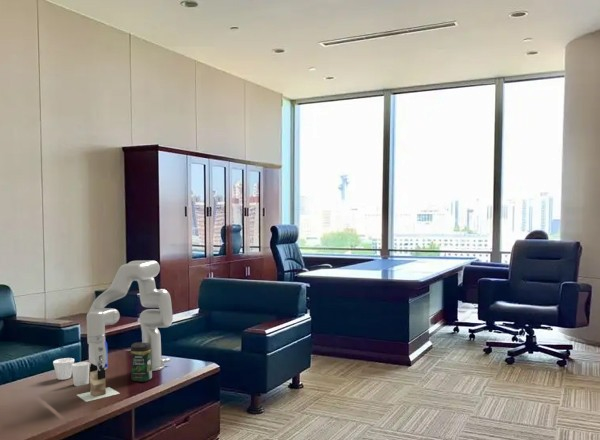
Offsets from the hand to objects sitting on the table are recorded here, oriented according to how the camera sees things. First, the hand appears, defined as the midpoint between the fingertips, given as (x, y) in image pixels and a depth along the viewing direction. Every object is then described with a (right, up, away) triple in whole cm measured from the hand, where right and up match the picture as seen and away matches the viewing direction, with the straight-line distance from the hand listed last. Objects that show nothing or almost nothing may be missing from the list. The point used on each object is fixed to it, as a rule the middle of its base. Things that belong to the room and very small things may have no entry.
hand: (97, 376), depth 235 cm
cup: (-29, -11, +31) cm, 44 cm away
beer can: (-17, -10, +46) cm, 50 cm away
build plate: (0, -9, 0) cm, 9 cm away
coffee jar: (+13, -9, +24) cm, 28 cm away
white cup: (-16, -10, +20) cm, 28 cm away
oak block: (0, -3, 0) cm, 3 cm away
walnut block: (0, -8, 0) cm, 8 cm away
